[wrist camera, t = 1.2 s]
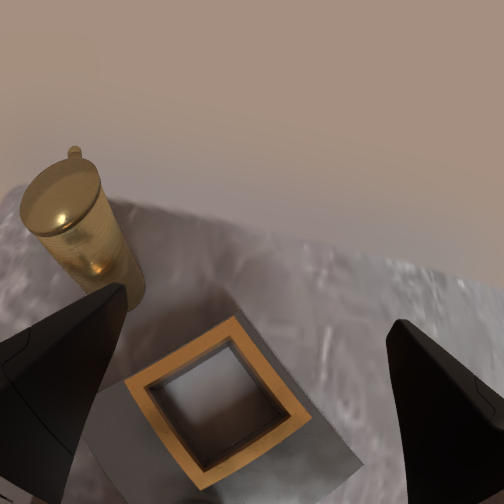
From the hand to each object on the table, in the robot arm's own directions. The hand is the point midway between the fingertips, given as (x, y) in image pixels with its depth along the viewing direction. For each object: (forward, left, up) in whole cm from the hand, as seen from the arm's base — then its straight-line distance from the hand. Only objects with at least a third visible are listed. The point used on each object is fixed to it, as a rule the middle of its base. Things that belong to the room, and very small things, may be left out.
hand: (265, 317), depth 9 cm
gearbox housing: (-5, -4, -15) cm, 16 cm away
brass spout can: (-5, +13, -15) cm, 20 cm away
